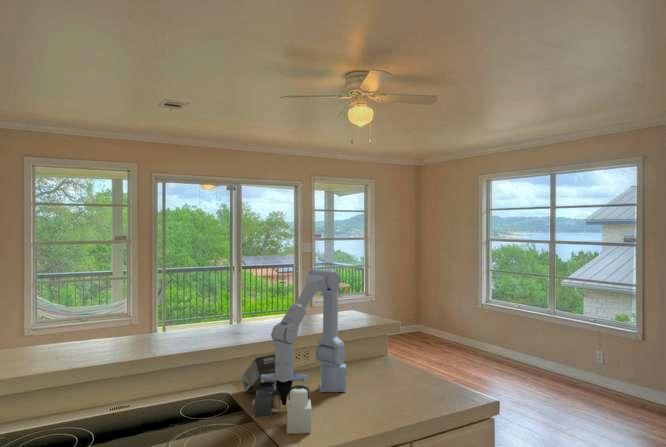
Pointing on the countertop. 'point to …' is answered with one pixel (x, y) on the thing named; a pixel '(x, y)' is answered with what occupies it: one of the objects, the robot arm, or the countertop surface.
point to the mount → (264, 399)
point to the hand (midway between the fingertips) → (284, 404)
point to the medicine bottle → (298, 410)
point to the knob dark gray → (275, 393)
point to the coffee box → (257, 372)
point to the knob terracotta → (273, 402)
